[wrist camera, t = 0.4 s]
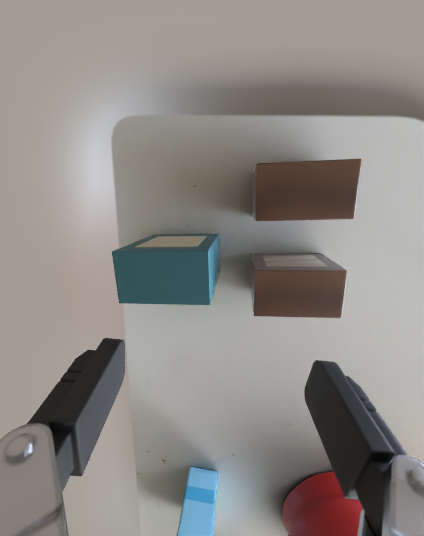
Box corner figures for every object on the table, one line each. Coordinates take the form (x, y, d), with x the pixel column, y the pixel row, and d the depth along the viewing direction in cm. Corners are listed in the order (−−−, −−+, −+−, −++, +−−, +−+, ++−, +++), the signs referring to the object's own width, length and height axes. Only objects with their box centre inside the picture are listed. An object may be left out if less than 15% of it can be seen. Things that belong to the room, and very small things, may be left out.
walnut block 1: (252, 172, 26) (256, 162, 20) (329, 169, 25) (361, 157, 19) (251, 216, 27) (255, 221, 21) (325, 214, 27) (354, 219, 20)
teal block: (153, 234, 29) (111, 250, 20) (218, 233, 28) (208, 250, 19) (156, 271, 31) (118, 303, 21) (219, 271, 30) (210, 305, 20)
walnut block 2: (251, 253, 29) (254, 269, 22) (321, 253, 28) (347, 270, 21) (250, 290, 30) (253, 316, 23) (318, 291, 29) (341, 318, 22)
